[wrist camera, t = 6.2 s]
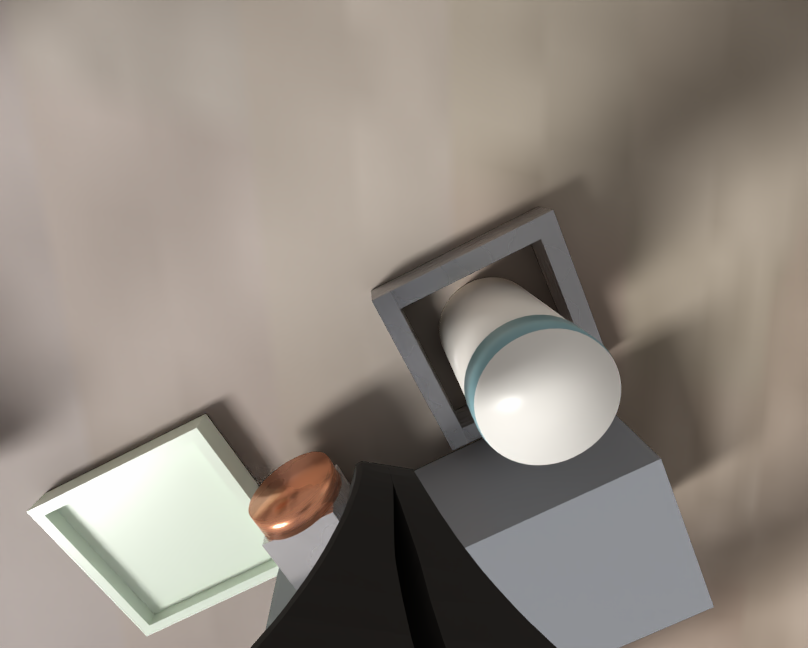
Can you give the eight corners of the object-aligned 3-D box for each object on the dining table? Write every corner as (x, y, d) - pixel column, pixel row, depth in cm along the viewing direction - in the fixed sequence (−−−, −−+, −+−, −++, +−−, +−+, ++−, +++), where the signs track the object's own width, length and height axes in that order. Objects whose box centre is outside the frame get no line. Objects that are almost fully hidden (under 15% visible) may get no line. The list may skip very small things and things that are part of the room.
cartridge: (553, 346, 21) (641, 427, 14) (462, 390, 21) (507, 489, 15) (517, 257, 20) (595, 301, 13) (420, 305, 20) (448, 372, 13)
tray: (302, 546, 23) (299, 565, 22) (157, 613, 24) (146, 636, 23) (205, 413, 21) (196, 427, 19) (44, 493, 21) (26, 511, 20)
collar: (596, 360, 21) (614, 374, 20) (446, 431, 22) (452, 450, 20) (538, 206, 19) (553, 210, 17) (371, 290, 20) (371, 300, 18)
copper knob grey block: (421, 579, 23) (432, 651, 20) (356, 609, 23) (355, 684, 20) (332, 439, 20) (325, 494, 17) (259, 475, 20) (238, 536, 17)
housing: (637, 511, 24) (714, 606, 19) (363, 634, 25) (363, 756, 20) (588, 388, 22) (660, 458, 16) (286, 530, 23) (263, 639, 18)
